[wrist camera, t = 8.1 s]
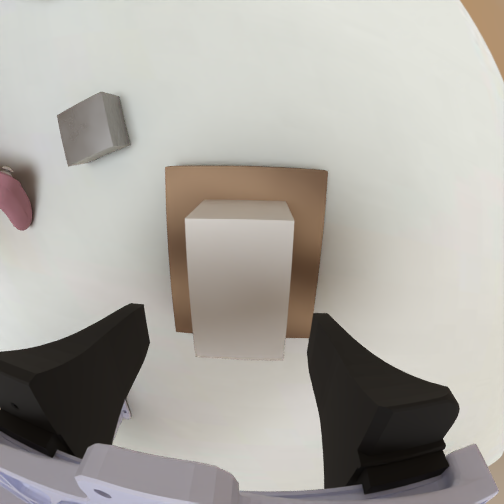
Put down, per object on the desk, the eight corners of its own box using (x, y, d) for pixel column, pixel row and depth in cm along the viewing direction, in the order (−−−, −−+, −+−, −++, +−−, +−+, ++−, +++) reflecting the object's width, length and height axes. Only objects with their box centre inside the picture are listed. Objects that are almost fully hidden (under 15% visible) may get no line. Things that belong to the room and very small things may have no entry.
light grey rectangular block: (285, 201, 18) (294, 220, 13) (279, 315, 21) (283, 360, 16) (204, 199, 18) (184, 218, 14) (208, 312, 21) (195, 356, 16)
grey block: (131, 144, 20) (113, 145, 17) (89, 162, 20) (68, 166, 17) (120, 96, 18) (101, 91, 16) (78, 116, 19) (56, 115, 16)
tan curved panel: (305, 320, 24) (309, 337, 22) (183, 314, 24) (176, 331, 22) (320, 168, 20) (327, 171, 17) (176, 164, 20) (165, 167, 18)
